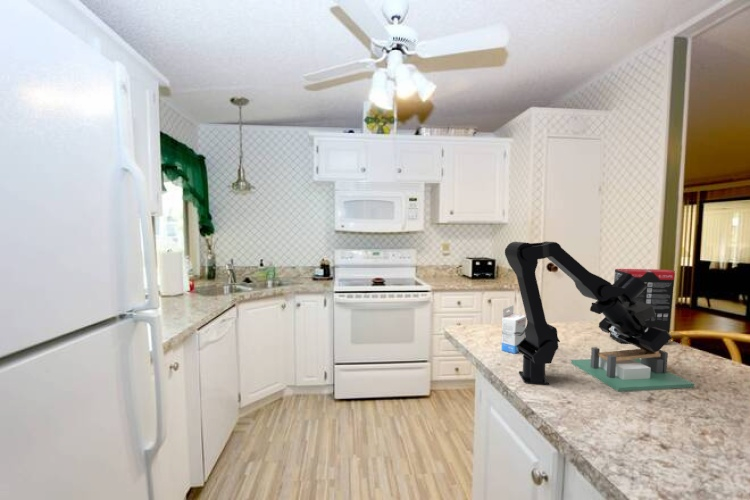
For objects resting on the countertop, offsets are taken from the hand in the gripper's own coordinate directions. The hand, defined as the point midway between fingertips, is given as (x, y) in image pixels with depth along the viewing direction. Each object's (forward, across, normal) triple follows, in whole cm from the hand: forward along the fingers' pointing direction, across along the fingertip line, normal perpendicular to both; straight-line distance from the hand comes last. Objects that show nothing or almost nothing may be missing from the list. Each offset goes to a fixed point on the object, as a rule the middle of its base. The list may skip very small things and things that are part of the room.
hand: (648, 350), depth 97 cm
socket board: (+1, 0, +9) cm, 9 cm away
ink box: (-15, +22, +26) cm, 37 cm away
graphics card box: (+20, +24, -10) cm, 33 cm away
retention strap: (-3, 0, +6) cm, 6 cm away
